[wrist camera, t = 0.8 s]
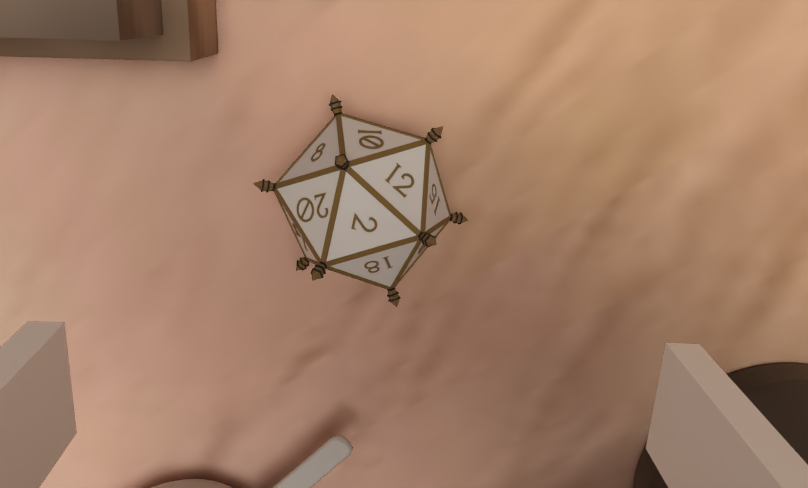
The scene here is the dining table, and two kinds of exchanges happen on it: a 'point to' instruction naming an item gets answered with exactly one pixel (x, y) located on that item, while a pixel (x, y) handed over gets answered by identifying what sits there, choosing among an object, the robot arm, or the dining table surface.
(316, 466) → the saucepan
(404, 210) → the game die
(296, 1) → the dining table surface
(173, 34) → the walnut tower base
